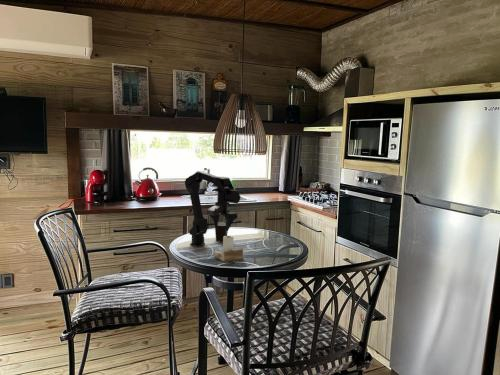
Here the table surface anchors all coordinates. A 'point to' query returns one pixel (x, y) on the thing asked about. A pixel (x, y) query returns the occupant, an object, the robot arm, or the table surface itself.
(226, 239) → the paper roll
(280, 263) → the table surface
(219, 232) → the coffee mug
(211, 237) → the table surface
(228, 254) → the holder
